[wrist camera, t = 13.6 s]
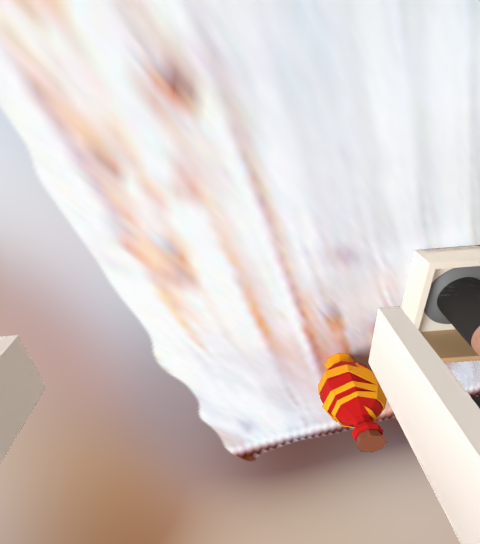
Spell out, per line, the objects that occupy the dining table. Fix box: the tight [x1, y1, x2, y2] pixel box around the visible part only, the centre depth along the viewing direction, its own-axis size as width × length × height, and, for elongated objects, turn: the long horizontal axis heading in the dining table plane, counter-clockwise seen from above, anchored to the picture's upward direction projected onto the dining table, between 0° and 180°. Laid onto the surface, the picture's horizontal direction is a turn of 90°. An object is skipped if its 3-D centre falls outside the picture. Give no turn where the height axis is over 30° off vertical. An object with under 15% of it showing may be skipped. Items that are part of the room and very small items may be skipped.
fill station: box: [401, 245, 480, 363], centre depth 47 cm, size 16×16×7 cm
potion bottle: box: [318, 353, 387, 452], centre depth 51 cm, size 10×10×15 cm
